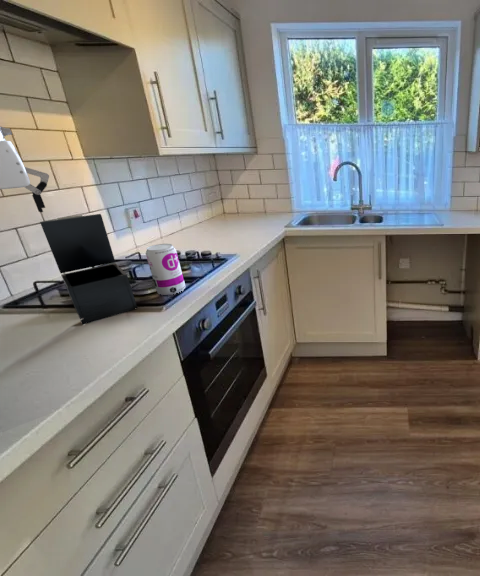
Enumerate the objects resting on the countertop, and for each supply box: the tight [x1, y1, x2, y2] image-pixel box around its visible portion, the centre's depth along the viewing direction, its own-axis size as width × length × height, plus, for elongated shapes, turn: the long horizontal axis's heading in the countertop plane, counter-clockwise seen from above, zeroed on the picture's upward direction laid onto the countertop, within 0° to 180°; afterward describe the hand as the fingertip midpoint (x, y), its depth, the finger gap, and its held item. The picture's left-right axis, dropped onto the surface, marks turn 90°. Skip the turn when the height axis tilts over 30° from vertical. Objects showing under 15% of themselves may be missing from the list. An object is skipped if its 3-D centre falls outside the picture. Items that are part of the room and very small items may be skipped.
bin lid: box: [39, 213, 116, 274], centre depth 104 cm, size 15×13×5 cm
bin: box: [61, 262, 139, 326], centre depth 104 cm, size 15×13×11 cm
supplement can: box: [145, 243, 186, 296], centre depth 114 cm, size 8×8×15 cm
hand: (13, 214), depth 83 cm, fingers open, 9 cm apart
